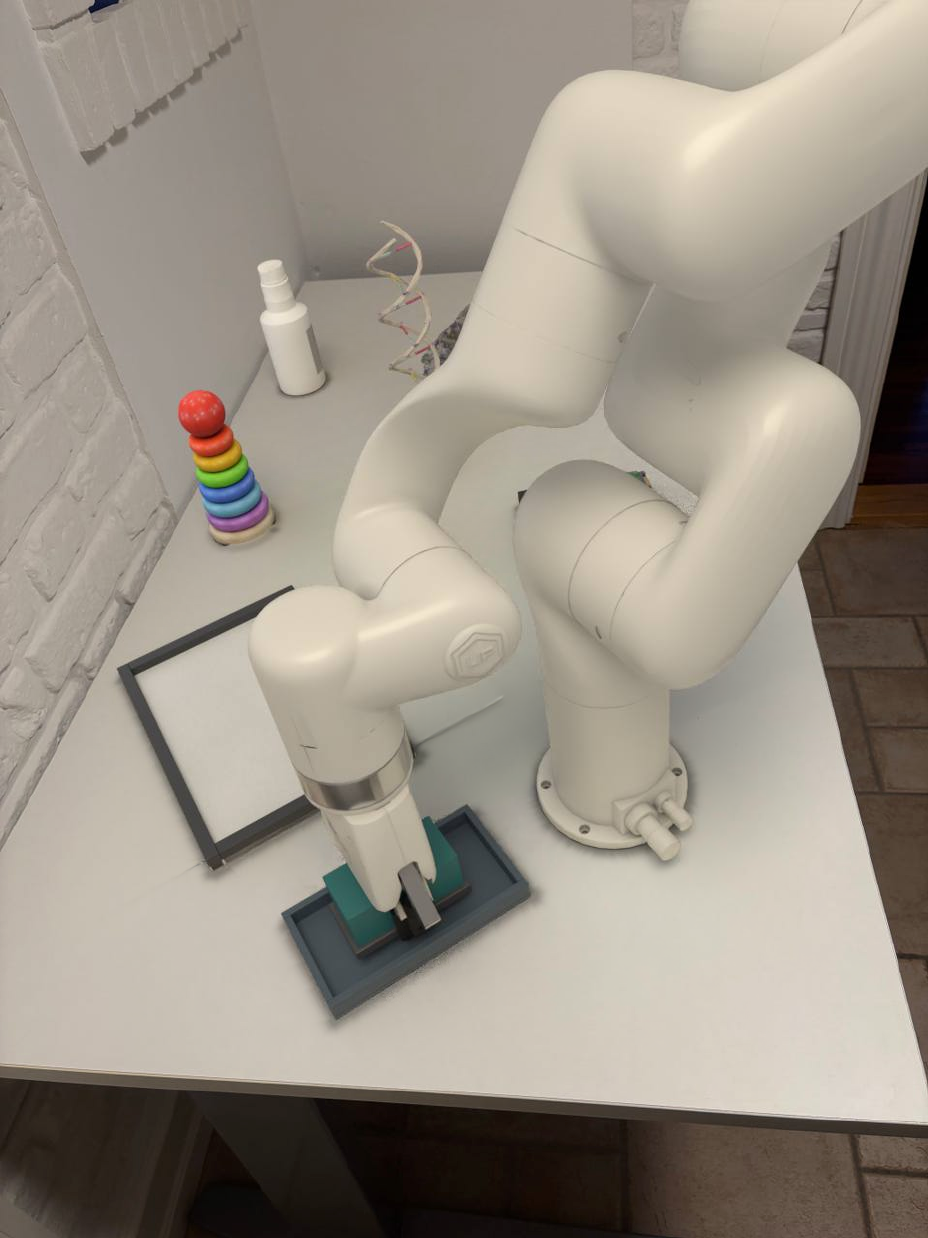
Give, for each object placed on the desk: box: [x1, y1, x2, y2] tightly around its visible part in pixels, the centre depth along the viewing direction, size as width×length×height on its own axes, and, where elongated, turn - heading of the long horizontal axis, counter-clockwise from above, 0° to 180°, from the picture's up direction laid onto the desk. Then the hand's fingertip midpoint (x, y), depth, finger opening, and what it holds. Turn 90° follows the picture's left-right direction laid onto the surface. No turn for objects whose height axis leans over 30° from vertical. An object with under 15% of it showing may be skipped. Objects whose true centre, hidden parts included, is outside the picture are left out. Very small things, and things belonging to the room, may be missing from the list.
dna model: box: [365, 220, 440, 385], centre depth 109 cm, size 7×6×30 cm
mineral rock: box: [420, 302, 471, 377], centre depth 132 cm, size 13×11×10 cm
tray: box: [280, 804, 531, 1021], centre depth 75 cm, size 9×17×2 cm, turn 121°
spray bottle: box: [257, 259, 327, 396], centre depth 134 cm, size 7×7×18 cm
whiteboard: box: [116, 584, 417, 873], centre depth 92 cm, size 28×20×2 cm
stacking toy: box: [177, 389, 275, 546], centre depth 110 cm, size 8×8×19 cm
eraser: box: [321, 815, 472, 960], centre depth 72 cm, size 10×5×5 cm, turn 121°
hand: (401, 900), depth 74 cm, fingers closed on eraser, 4 cm apart
